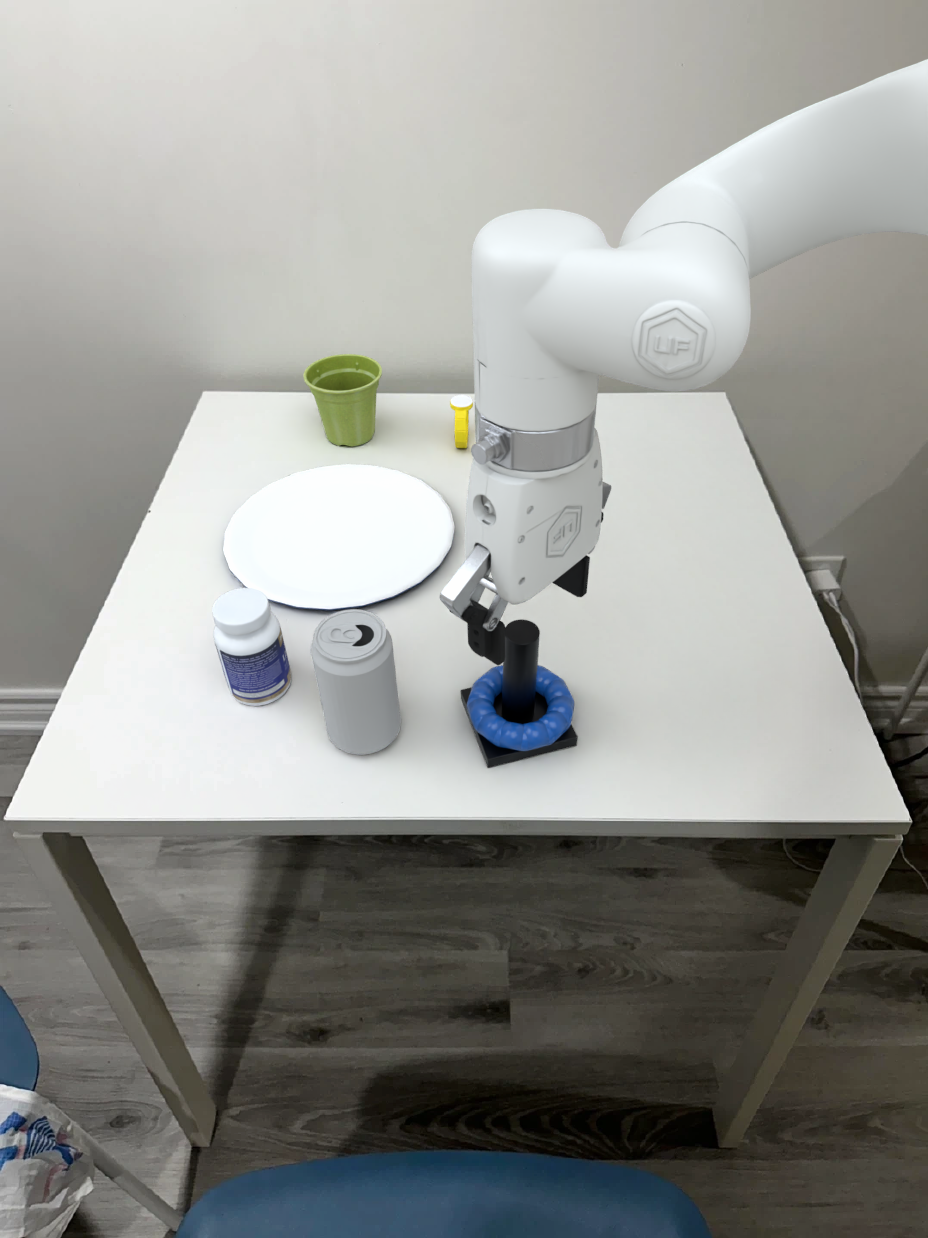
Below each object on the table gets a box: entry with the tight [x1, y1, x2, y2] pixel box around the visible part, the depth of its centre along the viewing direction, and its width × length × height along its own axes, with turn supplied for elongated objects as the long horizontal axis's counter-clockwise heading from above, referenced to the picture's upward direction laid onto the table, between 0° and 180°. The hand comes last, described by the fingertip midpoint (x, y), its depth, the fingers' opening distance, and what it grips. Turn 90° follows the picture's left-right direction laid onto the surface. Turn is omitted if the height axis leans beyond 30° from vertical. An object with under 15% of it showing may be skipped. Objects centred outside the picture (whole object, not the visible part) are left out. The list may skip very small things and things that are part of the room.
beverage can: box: [310, 608, 402, 756], centre depth 70 cm, size 6×6×12 cm
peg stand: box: [460, 618, 579, 769], centre depth 70 cm, size 8×8×11 cm
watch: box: [449, 394, 474, 449], centre depth 104 cm, size 6×3×6 cm, turn 177°
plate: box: [222, 463, 456, 611], centre depth 93 cm, size 25×25×1 cm
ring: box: [467, 664, 575, 751], centre depth 73 cm, size 9×9×2 cm
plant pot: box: [302, 353, 383, 447], centre depth 105 cm, size 9×9×9 cm
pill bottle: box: [211, 587, 292, 707], centre depth 74 cm, size 6×6×10 cm
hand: (528, 620), depth 66 cm, fingers open, 9 cm apart
